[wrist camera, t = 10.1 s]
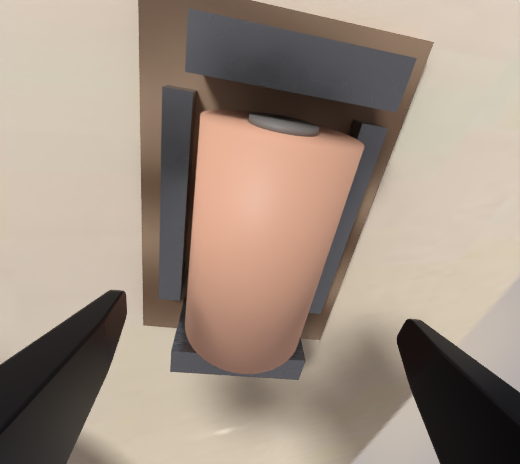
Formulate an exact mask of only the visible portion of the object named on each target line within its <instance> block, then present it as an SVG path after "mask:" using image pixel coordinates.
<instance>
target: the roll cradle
mask: <svg viewBox="0 0 520 464" xmlns="http://www.w3.org/2000/svg"><path fill="white" fill-rule="evenodd" d="M138 6H139V70H140V135H141V200H142V265H143V325H147V326H159V327H171V328H177V330H176V334H175V339H174V343H173V347H172V351H171V369H170V372H184V373H199V374H215V375H231V376H247V377H262V378H278V379H294V380H298V379H299V377H300V374H301V371H302V368H303V366H304V363H305V357H304V352H303V348H302V343H301V339H300V340H299V343H298V345H297V348H296V350H295V352H294V353H293V355H292V356H291V357H290V358H289V360H288V361H286V362H285V363H284V364H283V365H281V366H279V367H277V368H275V369H273V370H270V371H267V372H263V373H257V374H239V373H233V372H229V371H225V370H223V369H220V368H218V367H216V366H214V365H212V364H210V363H208V362H207V361H206V360H204V359H203V358H202V357H201V356H199V355H198V354H197V352H196V351H195V350H194V349H193V348H192V346H191V344H190V343H189V341H188V338H187V336H186V331H185V315H186V301H187V288H188V274H189V261H190V247H191V234H192V220H193V207H194V194H195V180H196V167H197V153H198V140H199V126H200V114H201V113H202V112H204V111H207V110H239V111H248V112H259V113H270V114H276V115H282V116H287V117H292V118H296V119H300V120H304V121H307V122H310V123H313V124H316V125H319V126H323V127H326V128H329V129H333V130H336V131H338V132H341V133H344V134H346V135H349V136H351V137H353V138H355V139H357V140H359V141H360V142H362V143H363V144H364V150H363V153H362V156H361V159H360V161H359V164H358V167H357V170H356V173H355V176H354V179H353V182H352V185H351V188H350V191H349V194H348V197H347V200H346V203H345V206H344V209H343V212H342V215H341V218H340V221H339V224H338V227H337V230H336V233H335V236H334V239H333V242H332V245H331V248H330V251H329V253H328V256H327V259H326V262H325V265H324V268H323V271H322V274H321V277H320V280H319V283H318V286H317V289H316V292H315V295H314V298H313V301H312V304H311V307H310V310H309V313H308V316H307V319H306V322H305V325H304V328H303V331H302V334H301V337H300V338H305V339H317V340H320V337H321V335H322V332H323V330H324V327H325V324H326V322H327V319H328V317H329V314H330V311H331V309H332V306H333V304H334V301H335V298H336V296H337V293H338V291H339V288H340V285H341V283H342V280H343V278H344V275H345V272H346V270H347V267H348V265H349V262H350V259H351V257H352V254H353V252H354V249H355V246H356V244H357V241H358V239H359V236H360V233H361V231H362V228H363V225H364V223H365V220H366V218H367V215H368V212H369V210H370V207H371V205H372V202H373V199H374V197H375V194H376V192H377V189H378V186H379V184H380V181H381V179H382V176H383V173H384V171H385V168H386V166H387V163H388V160H389V158H390V155H391V153H392V150H393V147H394V145H395V142H396V140H397V137H398V134H399V132H400V129H401V127H402V124H403V121H404V119H405V116H406V114H407V111H408V108H409V106H410V103H411V101H412V98H413V95H414V93H415V90H416V87H417V85H418V82H419V80H420V77H421V74H422V72H423V69H424V67H425V64H426V61H427V59H428V56H429V54H430V51H431V48H432V46H433V43H434V42H430V41H426V40H422V39H417V38H413V37H409V36H404V35H400V34H395V33H391V32H387V31H382V30H378V29H374V28H369V27H365V26H361V25H356V24H352V23H347V22H343V21H339V20H334V19H330V18H326V17H321V16H317V15H313V14H308V13H304V12H299V11H295V10H291V9H286V8H282V7H278V6H273V5H269V4H265V3H260V2H256V1H251V0H138Z"/></svg>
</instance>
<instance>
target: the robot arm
mask: <svg viewBox="0 0 520 464" xmlns="http://www.w3.org/2000/svg"><path fill="white" fill-rule="evenodd" d="M126 315H127V304H126V293H125V292H124V291H120V290H109V291H108V292H106V293H105V294H103V295H102V296H100V297H99V298H97V299H96V300H94V301H93V302H91V303H90V304H89V305H87V306H86V307H84V308H83V309H81V310H80V311H78V312H77V313H75V314H74V315H72V316H71V317H69V318H68V319H67V320H65V321H64V322H62V323H61V324H59V325H58V326H56V327H55V328H53V329H52V330H50V331H49V332H47V333H46V334H45V335H43V336H42V337H40V338H39V339H37V340H36V341H34V342H33V343H31V344H30V345H28V346H27V347H25V348H24V349H23V350H21V351H20V352H18V353H17V354H15V355H14V356H12V357H11V358H9V359H8V360H6V361H5V362H3V363H2V364H1V365H0V464H66V463H67V461H68V459H69V456H70V454H71V452H72V450H73V448H74V446H75V443H76V441H77V439H78V437H79V435H80V432H81V430H82V428H83V426H84V424H85V421H86V419H87V417H88V415H89V413H90V410H91V408H92V406H93V404H94V402H95V400H96V397H97V395H98V393H99V391H100V389H101V386H102V384H103V382H104V380H105V378H106V375H107V373H108V371H109V368H110V365H111V362H112V360H113V357H114V353H115V350H116V347H117V344H118V341H119V338H120V335H121V332H122V329H123V326H124V323H125V320H126ZM397 345H398V348H399V351H400V355H401V358H402V362H403V365H404V369H405V372H406V375H407V379H408V382H409V385H410V388H411V391H412V394H413V396H414V399H415V401H416V404H417V406H418V409H419V411H420V414H421V416H422V419H423V422H424V424H425V426H426V429H427V431H428V434H429V437H430V439H431V442H432V444H433V447H434V449H435V452H436V454H437V457H438V459H439V462H440V464H520V393H519V392H518V391H517V390H516V389H514V388H513V387H512V386H510V385H509V384H507V383H506V382H505V381H503V380H502V379H501V378H499V377H498V376H496V375H495V374H494V373H492V372H491V371H490V370H488V369H487V368H485V367H484V366H483V365H481V364H480V363H479V362H477V361H476V360H475V359H473V358H472V357H471V356H469V355H468V354H466V353H465V352H464V351H462V350H461V349H460V348H458V347H457V346H455V345H454V344H453V343H451V342H450V341H449V340H447V339H446V338H445V337H443V336H442V335H440V334H439V333H438V332H436V331H435V330H434V329H432V328H431V327H429V326H428V325H427V324H425V323H424V322H423V321H421V320H417V319H407V320H406V321H405V323H404V324H403V326H402V328H401V330H400V332H399V333H398V335H397Z"/></svg>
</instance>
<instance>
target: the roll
mask: <svg viewBox="0 0 520 464" xmlns="http://www.w3.org/2000/svg"><path fill="white" fill-rule="evenodd" d="M363 150H364V144H363V143H362V142H360V141H359V140H357V139H355V138H353V137H351V136H349V135H346V134H344V133H341V132H338V131H336V130H333V129H329V128H326V127H323V126H319V125H316V124H313V123H310V122H307V121H304V120H300V119H296V118H292V117H287V116H282V115H276V114H270V113H259V112H248V111H239V110H207V111H204V112H202V113H201V114H200V126H199V140H198V153H197V167H196V180H195V194H194V207H193V220H192V234H191V247H190V261H189V274H188V288H187V301H186V315H185V331H186V336H187V338H188V341H189V343H190V344H191V346H192V348H193V349H194V350H195V351H196V352H197V354H198V355H199V356H201V357H202V358H203V359H204V360H206V361H207V362H208V363H210V364H212V365H214V366H216V367H218V368H220V369H223V370H225V371H229V372H233V373H239V374H257V373H263V372H267V371H270V370H273V369H275V368H277V367H279V366H281V365H283V364H284V363H285V362H286V361H288V360H289V358H290V357H291V356H292V355H293V353H294V352H295V350H296V348H297V345H298V343H299V340H300V337H301V334H302V331H303V328H304V325H305V322H306V319H307V316H308V313H309V310H310V307H311V304H312V301H313V298H314V295H315V292H316V289H317V286H318V283H319V280H320V277H321V274H322V271H323V268H324V265H325V262H326V259H327V256H328V253H329V251H330V248H331V245H332V242H333V239H334V236H335V233H336V230H337V227H338V224H339V221H340V218H341V215H342V212H343V209H344V206H345V203H346V200H347V197H348V194H349V191H350V188H351V185H352V182H353V179H354V176H355V173H356V170H357V167H358V164H359V161H360V159H361V156H362V153H363Z"/></svg>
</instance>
